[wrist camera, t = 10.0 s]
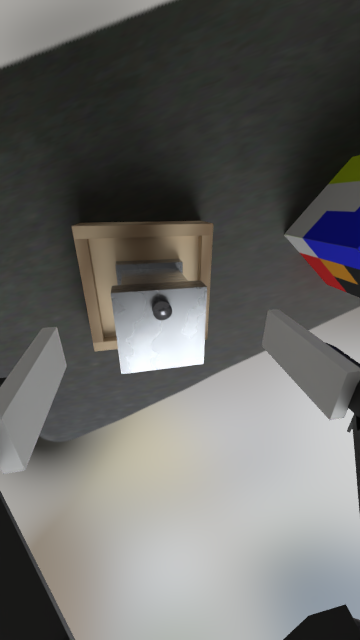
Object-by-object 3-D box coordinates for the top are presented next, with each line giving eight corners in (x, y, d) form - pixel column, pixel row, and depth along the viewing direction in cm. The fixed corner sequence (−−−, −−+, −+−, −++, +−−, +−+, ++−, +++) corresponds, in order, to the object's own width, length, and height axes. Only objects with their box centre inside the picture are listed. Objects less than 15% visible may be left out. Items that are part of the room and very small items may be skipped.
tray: (200, 220, 25) (213, 223, 22) (197, 323, 30) (207, 339, 27) (79, 222, 23) (71, 226, 19) (98, 332, 28) (94, 351, 25)
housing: (179, 314, 26) (205, 368, 17) (122, 319, 25) (121, 379, 16) (179, 258, 23) (210, 289, 15) (115, 261, 22) (110, 296, 14)
